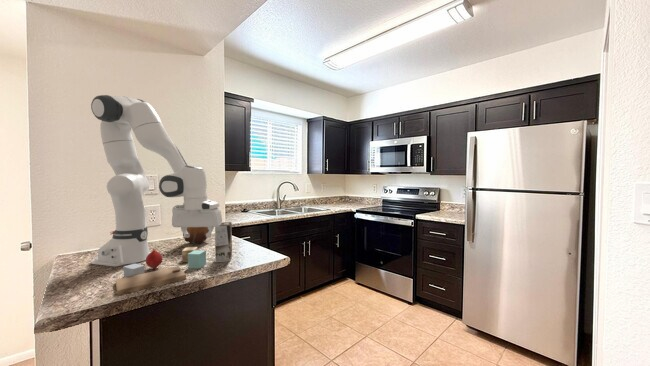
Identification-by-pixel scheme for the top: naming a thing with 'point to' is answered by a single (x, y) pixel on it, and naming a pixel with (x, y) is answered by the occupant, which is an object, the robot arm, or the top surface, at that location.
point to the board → (149, 280)
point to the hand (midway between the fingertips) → (197, 237)
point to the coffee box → (223, 242)
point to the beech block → (186, 252)
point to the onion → (154, 259)
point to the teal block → (196, 259)
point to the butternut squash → (196, 234)
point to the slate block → (133, 270)
